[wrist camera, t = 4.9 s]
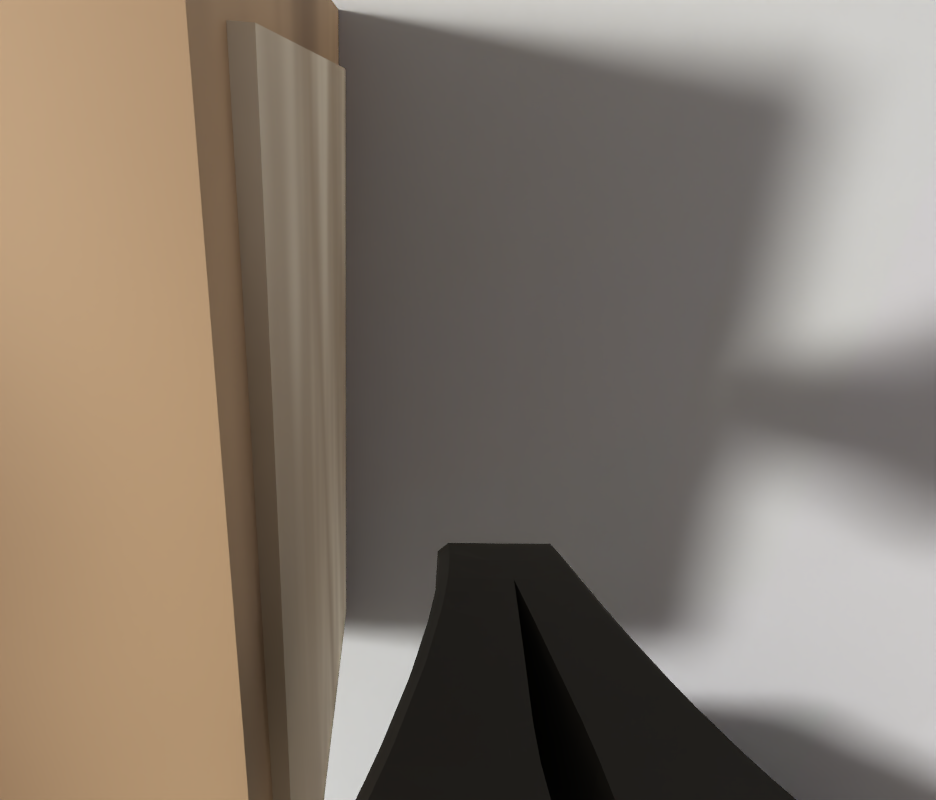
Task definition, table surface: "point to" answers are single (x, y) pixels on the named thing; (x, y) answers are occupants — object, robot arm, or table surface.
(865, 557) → the table surface
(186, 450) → the tan wooden block
